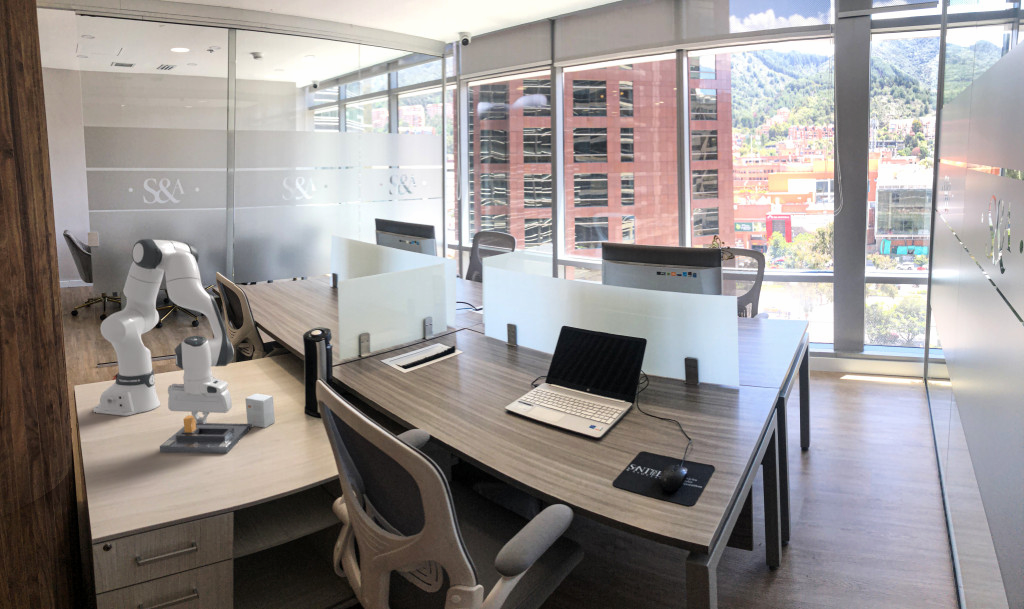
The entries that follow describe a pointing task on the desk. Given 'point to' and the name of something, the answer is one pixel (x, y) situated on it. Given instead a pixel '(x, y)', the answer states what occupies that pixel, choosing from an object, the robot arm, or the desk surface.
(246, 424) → the twin grey rods
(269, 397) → the small box
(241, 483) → the desk surface
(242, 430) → the breaker panel
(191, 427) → the lever
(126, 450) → the desk surface
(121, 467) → the desk surface
